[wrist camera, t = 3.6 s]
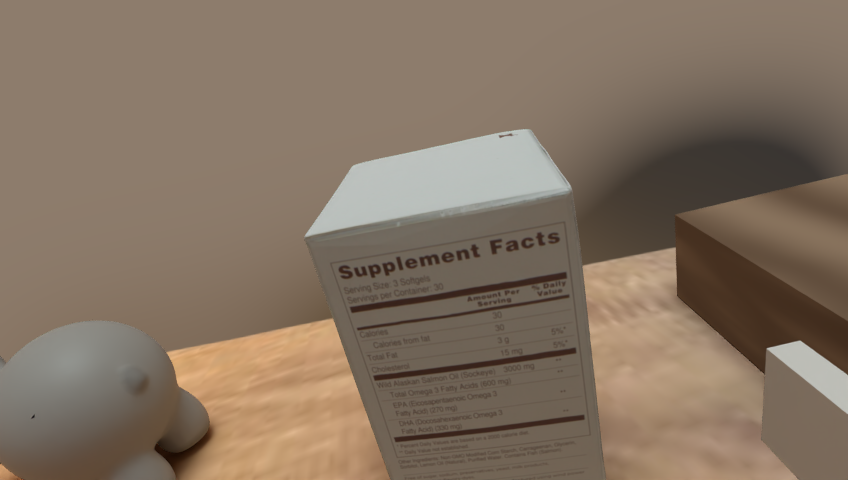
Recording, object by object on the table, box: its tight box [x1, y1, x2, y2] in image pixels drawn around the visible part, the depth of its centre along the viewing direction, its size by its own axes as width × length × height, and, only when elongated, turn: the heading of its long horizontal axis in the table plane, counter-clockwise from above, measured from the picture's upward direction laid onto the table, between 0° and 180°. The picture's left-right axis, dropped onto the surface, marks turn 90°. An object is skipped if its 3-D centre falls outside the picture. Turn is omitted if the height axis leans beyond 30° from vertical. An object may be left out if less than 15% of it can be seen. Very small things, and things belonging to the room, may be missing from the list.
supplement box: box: [304, 129, 606, 480], centre depth 18 cm, size 7×7×13 cm
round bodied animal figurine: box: [0, 321, 210, 480], centre depth 23 cm, size 7×12×8 cm, turn 84°
